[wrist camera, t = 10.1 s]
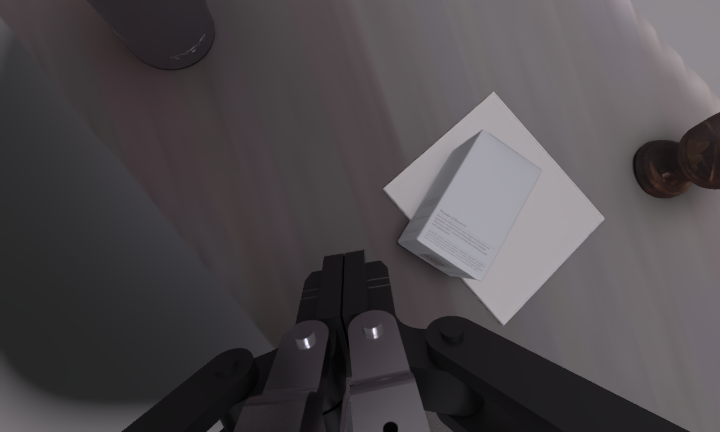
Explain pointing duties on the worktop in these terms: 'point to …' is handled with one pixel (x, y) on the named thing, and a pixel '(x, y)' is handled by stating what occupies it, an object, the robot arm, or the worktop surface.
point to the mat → (534, 223)
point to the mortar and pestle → (681, 161)
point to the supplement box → (471, 207)
